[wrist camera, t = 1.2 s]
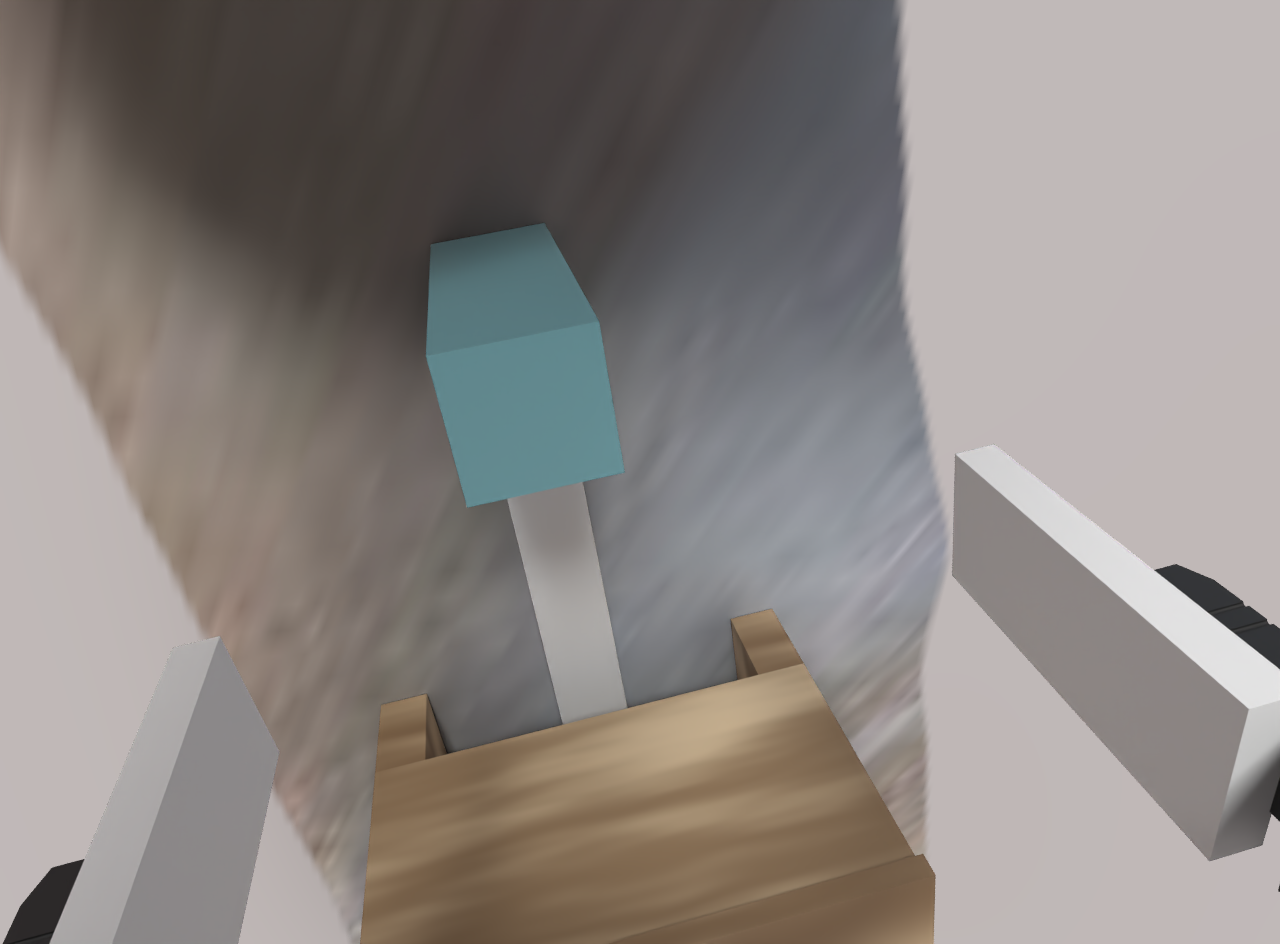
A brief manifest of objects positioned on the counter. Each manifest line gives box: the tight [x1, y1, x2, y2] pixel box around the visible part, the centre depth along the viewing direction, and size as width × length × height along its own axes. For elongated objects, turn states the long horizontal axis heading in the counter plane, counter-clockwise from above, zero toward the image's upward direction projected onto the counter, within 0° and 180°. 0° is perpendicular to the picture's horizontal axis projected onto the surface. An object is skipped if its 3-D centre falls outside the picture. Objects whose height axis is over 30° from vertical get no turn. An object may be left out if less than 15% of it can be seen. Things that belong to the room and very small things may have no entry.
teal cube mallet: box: [426, 223, 627, 725], centre depth 31 cm, size 26×4×12 cm, turn 8°
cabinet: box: [360, 609, 935, 944], centre depth 36 cm, size 14×18×15 cm
